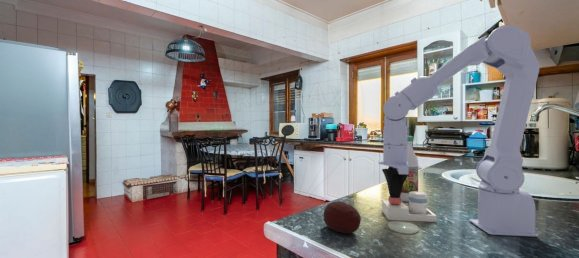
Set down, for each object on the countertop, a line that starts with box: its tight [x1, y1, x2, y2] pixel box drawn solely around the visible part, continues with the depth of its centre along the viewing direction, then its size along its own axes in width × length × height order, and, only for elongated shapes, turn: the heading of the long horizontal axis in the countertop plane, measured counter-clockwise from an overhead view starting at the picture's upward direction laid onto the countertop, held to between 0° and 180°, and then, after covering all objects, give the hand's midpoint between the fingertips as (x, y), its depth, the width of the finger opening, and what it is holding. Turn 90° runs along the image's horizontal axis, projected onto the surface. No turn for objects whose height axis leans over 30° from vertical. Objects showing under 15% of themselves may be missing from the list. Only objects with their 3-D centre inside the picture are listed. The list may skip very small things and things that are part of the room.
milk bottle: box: [400, 135, 419, 203], centre depth 81 cm, size 8×8×20 cm
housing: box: [381, 199, 437, 223], centre depth 66 cm, size 11×6×3 cm, turn 83°
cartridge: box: [408, 191, 428, 214], centre depth 66 cm, size 4×4×6 cm
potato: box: [323, 200, 362, 234], centre depth 58 cm, size 7×10×6 cm
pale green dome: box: [387, 220, 420, 235], centre depth 59 cm, size 6×6×1 cm
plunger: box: [388, 195, 402, 205], centre depth 67 cm, size 3×3×4 cm
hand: (394, 197), depth 67 cm, fingers closed, pressing on plunger
